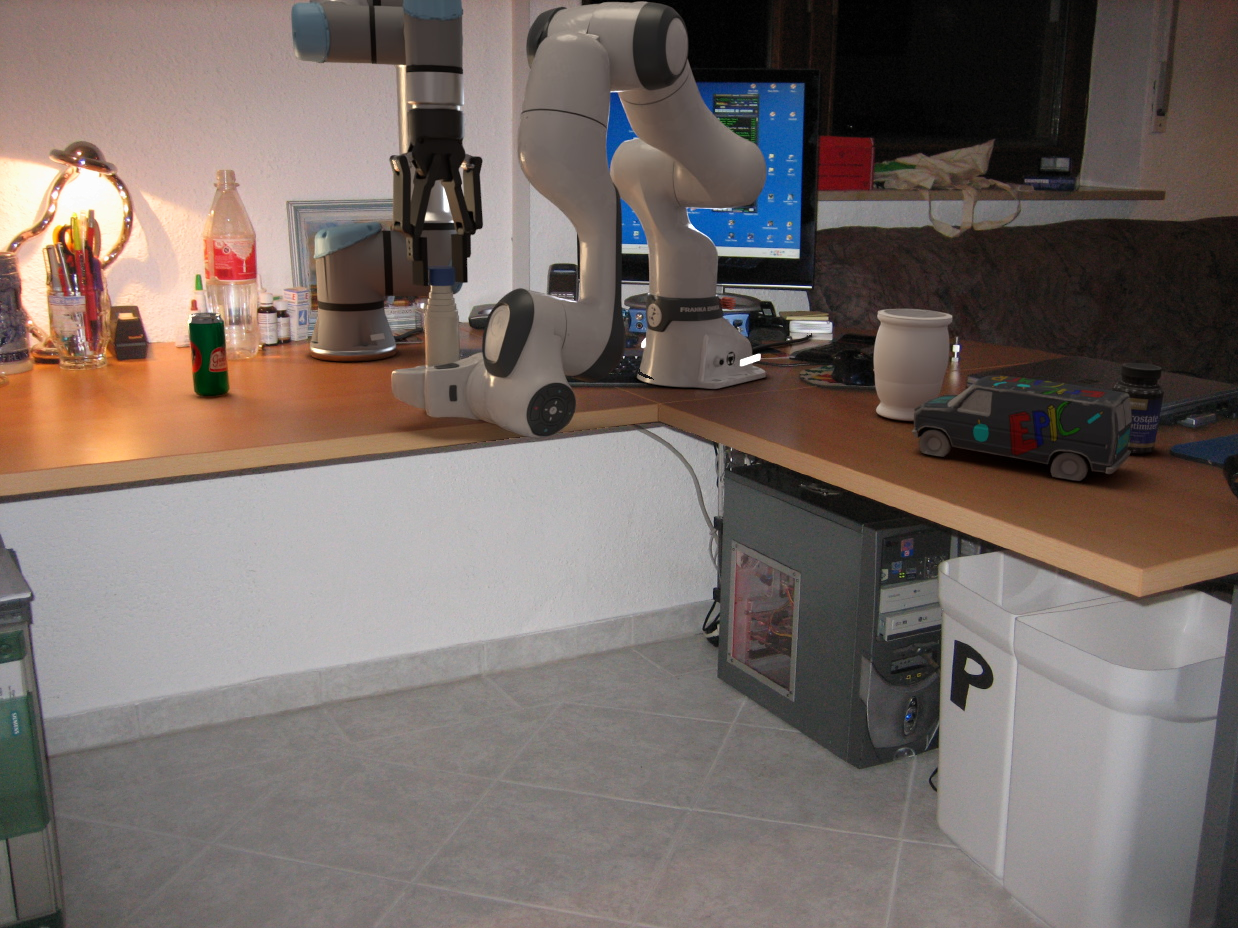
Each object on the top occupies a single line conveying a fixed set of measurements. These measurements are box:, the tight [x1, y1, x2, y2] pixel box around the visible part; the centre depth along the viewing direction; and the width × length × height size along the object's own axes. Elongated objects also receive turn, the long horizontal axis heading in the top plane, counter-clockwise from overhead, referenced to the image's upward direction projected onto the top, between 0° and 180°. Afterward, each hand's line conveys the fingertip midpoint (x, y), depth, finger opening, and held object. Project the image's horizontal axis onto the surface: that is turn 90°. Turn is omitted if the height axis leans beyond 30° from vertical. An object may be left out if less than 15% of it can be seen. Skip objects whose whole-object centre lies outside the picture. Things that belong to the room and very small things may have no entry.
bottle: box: [423, 286, 461, 366], centre depth 151 cm, size 5×5×20 cm
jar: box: [873, 308, 953, 422], centre depth 154 cm, size 11×10×15 cm
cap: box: [428, 266, 455, 286], centre depth 148 cm, size 4×4×2 cm
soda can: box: [187, 312, 231, 398], centre depth 160 cm, size 5×5×12 cm
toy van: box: [911, 374, 1133, 482], centre depth 133 cm, size 11×25×10 cm, turn 54°
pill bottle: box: [1111, 362, 1165, 455], centre depth 139 cm, size 6×6×11 cm
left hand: (440, 283), depth 149 cm, fingers open, 6 cm apart
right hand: (439, 369), depth 153 cm, fingers closed on bottle, 5 cm apart
